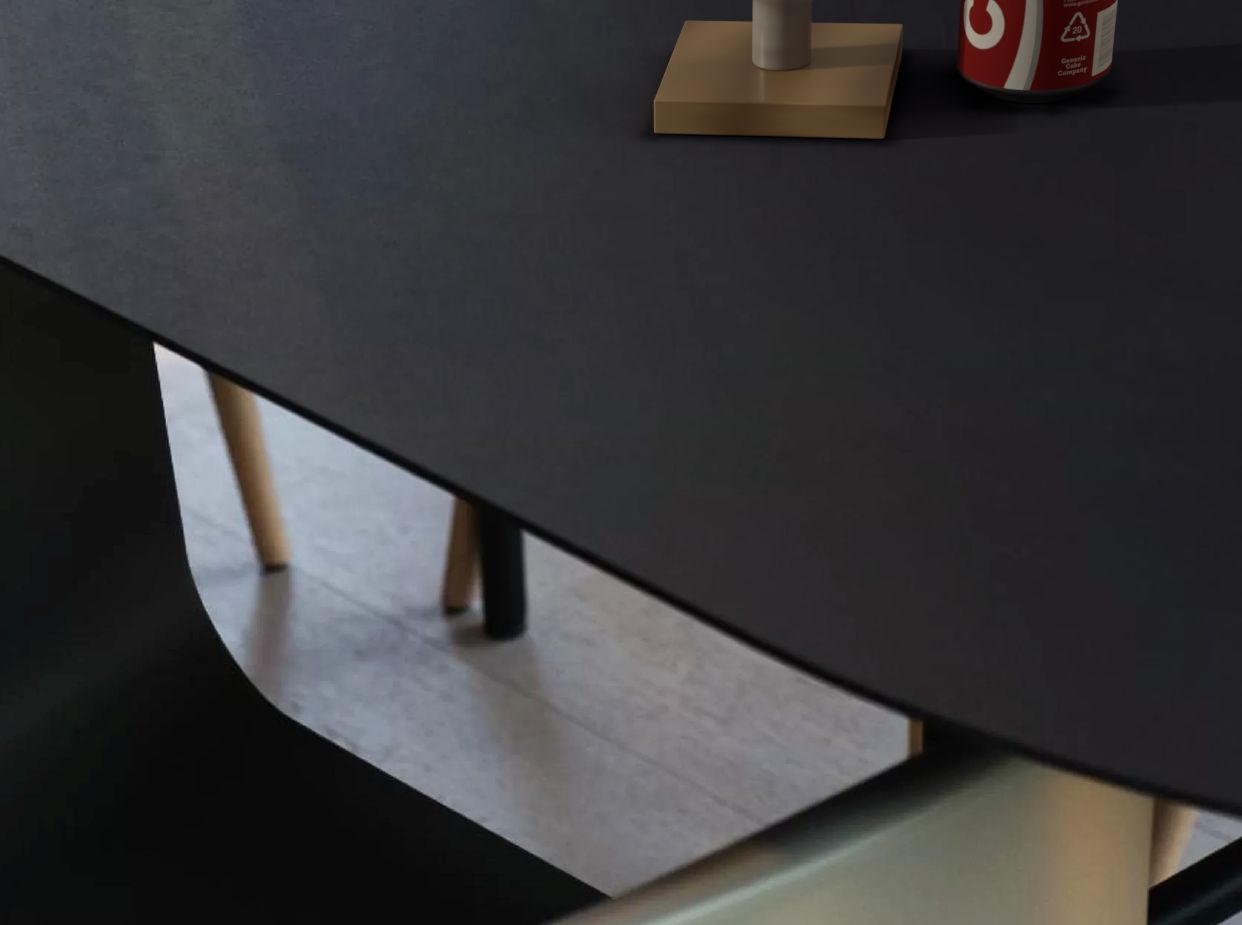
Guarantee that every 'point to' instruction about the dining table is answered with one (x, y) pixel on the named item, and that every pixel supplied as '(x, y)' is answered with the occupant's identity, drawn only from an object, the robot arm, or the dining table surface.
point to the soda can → (1035, 47)
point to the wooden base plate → (780, 76)
